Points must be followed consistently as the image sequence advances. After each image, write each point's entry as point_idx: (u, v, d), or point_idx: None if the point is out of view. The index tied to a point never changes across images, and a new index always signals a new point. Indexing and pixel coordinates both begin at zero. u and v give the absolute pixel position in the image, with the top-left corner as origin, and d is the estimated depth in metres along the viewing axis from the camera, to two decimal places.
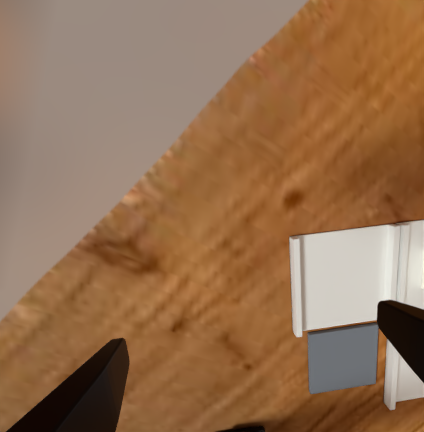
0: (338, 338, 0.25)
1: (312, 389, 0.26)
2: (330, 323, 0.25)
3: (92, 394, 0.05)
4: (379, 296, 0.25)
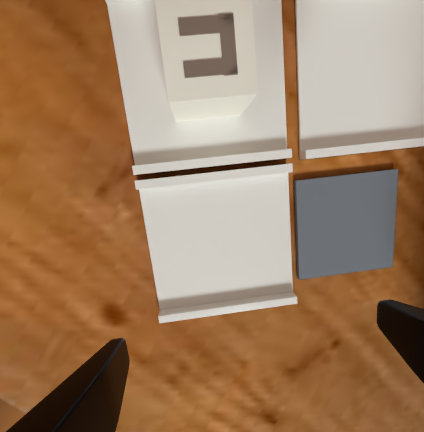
0: (310, 239, 0.18)
1: (385, 265, 0.19)
2: (286, 250, 0.18)
3: (92, 395, 0.05)
4: (250, 184, 0.17)
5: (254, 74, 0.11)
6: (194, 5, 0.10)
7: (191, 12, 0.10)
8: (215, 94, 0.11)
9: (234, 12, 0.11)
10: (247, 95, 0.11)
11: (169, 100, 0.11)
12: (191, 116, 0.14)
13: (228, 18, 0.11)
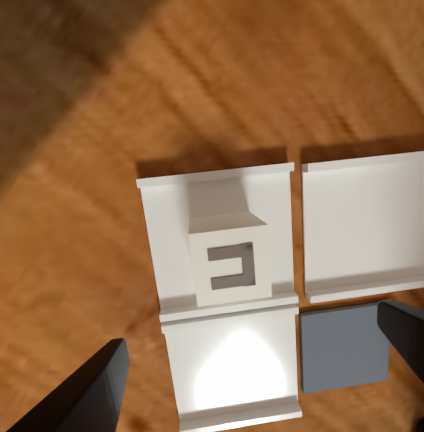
0: (313, 361, 0.20)
1: (381, 379, 0.21)
2: (292, 370, 0.20)
3: (92, 395, 0.05)
4: (261, 318, 0.19)
5: (269, 282, 0.13)
6: (221, 239, 0.13)
7: (218, 244, 0.13)
8: (236, 299, 0.13)
9: (253, 241, 0.13)
10: (263, 296, 0.14)
11: (198, 306, 0.13)
12: None
13: (248, 247, 0.13)
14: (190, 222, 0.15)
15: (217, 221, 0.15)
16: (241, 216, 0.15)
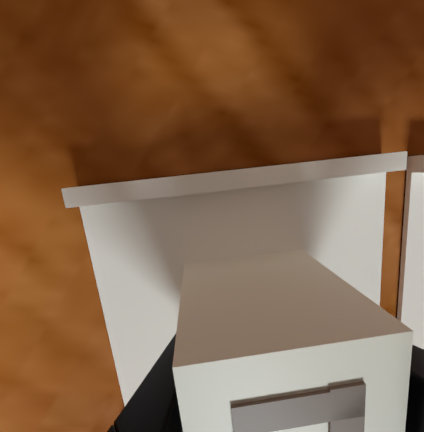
0: None
1: None
2: None
3: None
4: None
5: None
6: (272, 375, 0.04)
7: (265, 389, 0.04)
8: None
9: (367, 379, 0.04)
10: None
11: None
12: None
13: (353, 394, 0.04)
14: (184, 285, 0.07)
15: (246, 288, 0.06)
16: (296, 270, 0.07)
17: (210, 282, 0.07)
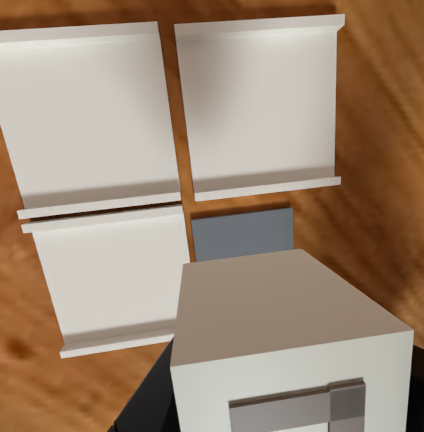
0: None
1: None
2: None
3: None
4: (145, 223, 0.17)
5: None
6: (271, 375, 0.04)
7: (264, 389, 0.04)
8: None
9: (367, 378, 0.04)
10: None
11: None
12: None
13: (353, 394, 0.04)
14: (182, 284, 0.07)
15: (246, 287, 0.06)
16: (296, 269, 0.07)
17: (209, 281, 0.07)
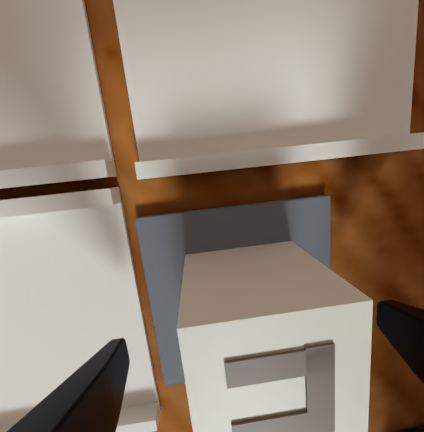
0: (175, 319, 0.10)
1: None
2: (136, 338, 0.10)
3: (92, 394, 0.05)
4: (48, 224, 0.09)
5: (363, 423, 0.06)
6: (258, 336, 0.05)
7: (252, 348, 0.05)
8: None
9: (336, 340, 0.05)
10: None
11: None
12: None
13: (324, 352, 0.05)
14: (185, 271, 0.08)
15: (240, 272, 0.07)
16: (284, 257, 0.08)
17: (208, 268, 0.08)
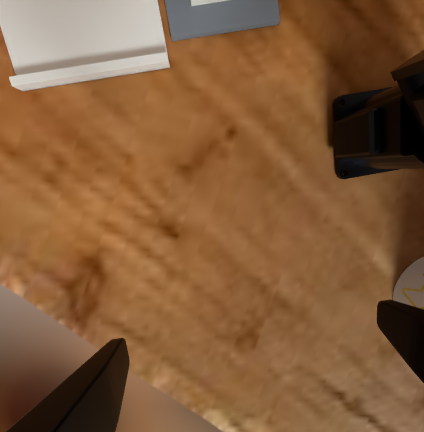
0: None
1: (271, 19, 0.16)
2: (151, 1, 0.16)
3: (92, 394, 0.05)
4: None
5: None
6: None
7: None
8: None
9: None
10: None
11: None
12: None
13: None
14: None
15: None
16: None
17: None
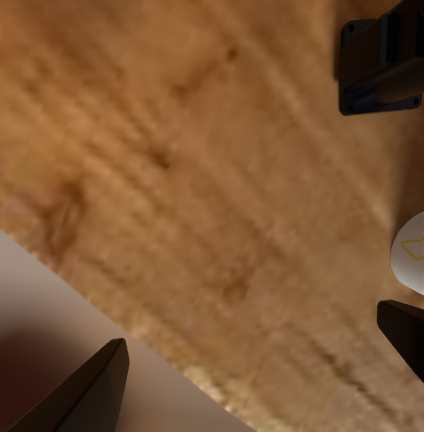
0: None
1: None
2: None
3: (92, 395, 0.05)
4: None
5: None
6: None
7: None
8: None
9: None
10: None
11: None
12: None
13: None
14: None
15: None
16: None
17: None
